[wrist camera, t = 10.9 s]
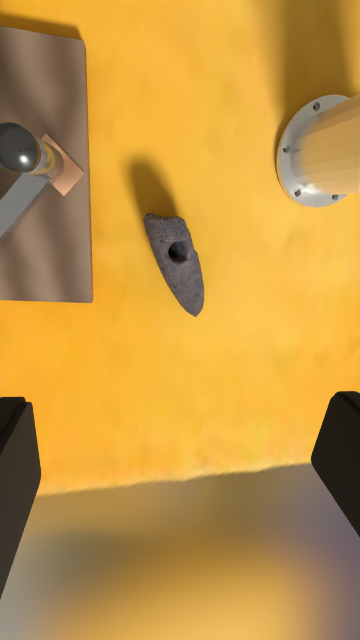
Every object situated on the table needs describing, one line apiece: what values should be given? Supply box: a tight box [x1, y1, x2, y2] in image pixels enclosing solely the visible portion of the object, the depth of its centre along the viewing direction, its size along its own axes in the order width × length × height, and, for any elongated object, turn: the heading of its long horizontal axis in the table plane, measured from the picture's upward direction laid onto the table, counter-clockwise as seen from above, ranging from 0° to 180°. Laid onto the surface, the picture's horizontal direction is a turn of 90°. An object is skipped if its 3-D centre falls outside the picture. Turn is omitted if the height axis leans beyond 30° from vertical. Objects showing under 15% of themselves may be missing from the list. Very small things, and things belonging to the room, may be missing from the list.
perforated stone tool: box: [144, 213, 204, 317], centre depth 37 cm, size 15×5×7 cm, turn 18°
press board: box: [0, 26, 93, 303], centre depth 33 cm, size 19×28×2 cm
